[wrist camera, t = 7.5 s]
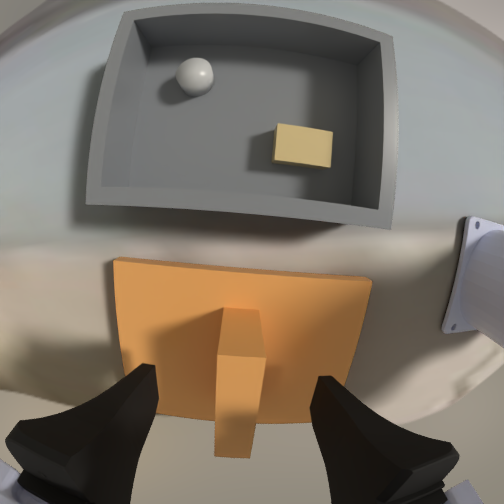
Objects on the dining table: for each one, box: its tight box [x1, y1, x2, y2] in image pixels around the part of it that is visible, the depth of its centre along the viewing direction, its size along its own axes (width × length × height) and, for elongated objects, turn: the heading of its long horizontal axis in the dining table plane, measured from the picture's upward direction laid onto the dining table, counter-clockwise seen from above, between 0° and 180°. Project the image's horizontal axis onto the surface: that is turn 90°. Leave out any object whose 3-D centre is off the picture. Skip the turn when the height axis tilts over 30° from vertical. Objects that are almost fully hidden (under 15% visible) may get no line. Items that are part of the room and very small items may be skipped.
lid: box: [113, 257, 372, 458], centre depth 12 cm, size 12×9×6 cm
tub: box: [85, 3, 398, 230], centre depth 10 cm, size 12×9×4 cm
